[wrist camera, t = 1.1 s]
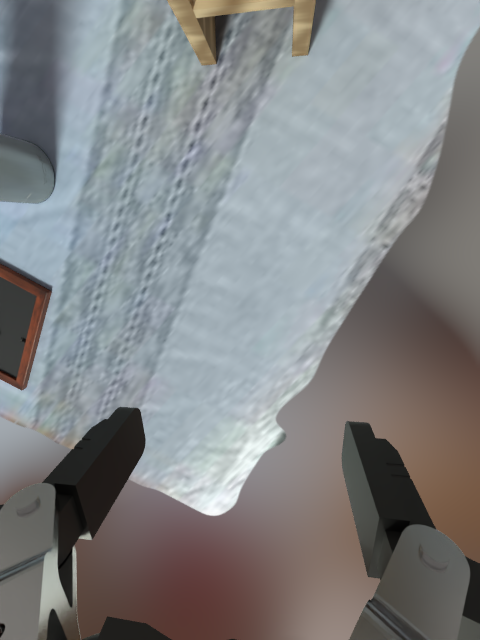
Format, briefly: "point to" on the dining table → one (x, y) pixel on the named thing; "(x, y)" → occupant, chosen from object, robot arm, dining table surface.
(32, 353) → the picture frame
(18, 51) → the dining table surface
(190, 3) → the rack
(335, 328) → the dining table surface
